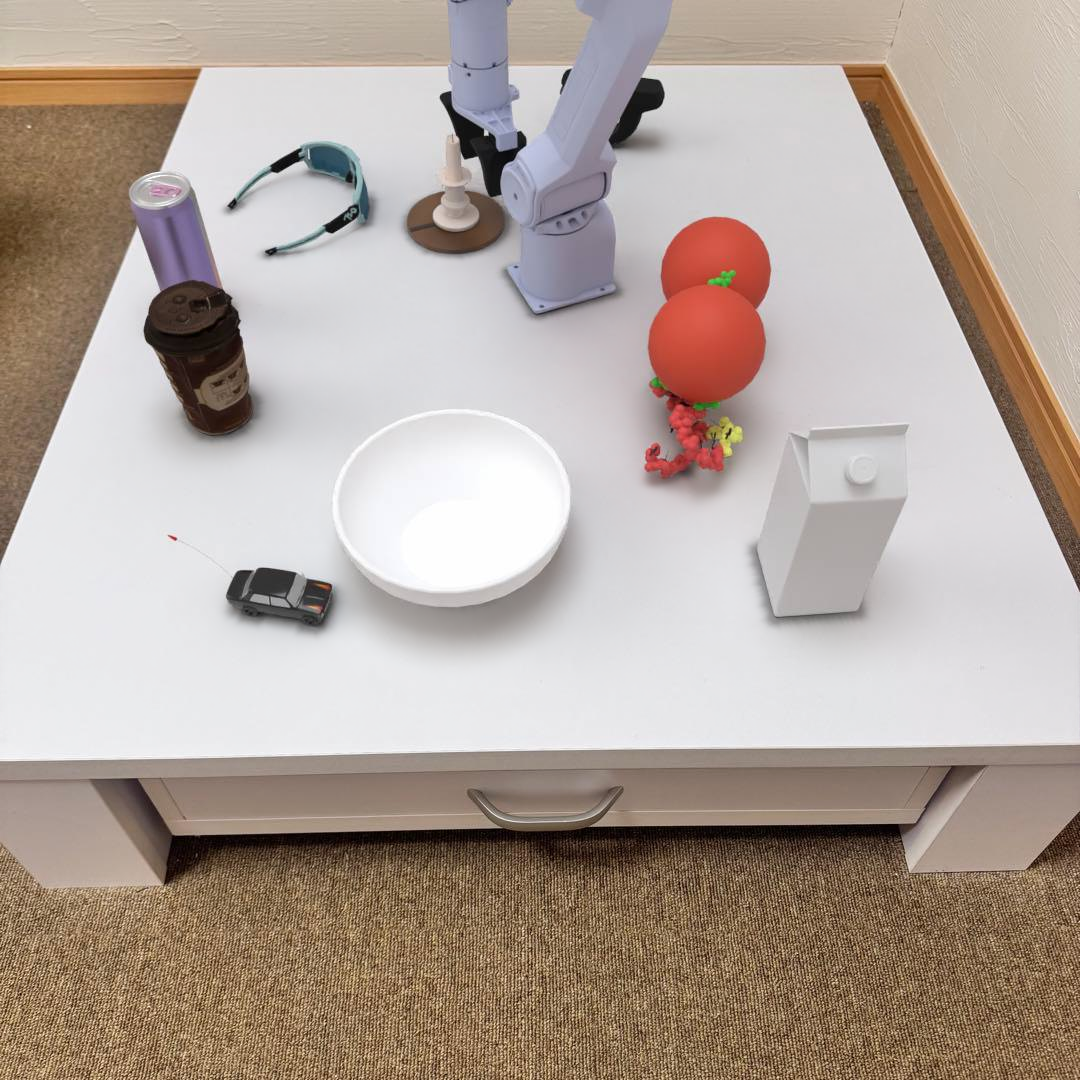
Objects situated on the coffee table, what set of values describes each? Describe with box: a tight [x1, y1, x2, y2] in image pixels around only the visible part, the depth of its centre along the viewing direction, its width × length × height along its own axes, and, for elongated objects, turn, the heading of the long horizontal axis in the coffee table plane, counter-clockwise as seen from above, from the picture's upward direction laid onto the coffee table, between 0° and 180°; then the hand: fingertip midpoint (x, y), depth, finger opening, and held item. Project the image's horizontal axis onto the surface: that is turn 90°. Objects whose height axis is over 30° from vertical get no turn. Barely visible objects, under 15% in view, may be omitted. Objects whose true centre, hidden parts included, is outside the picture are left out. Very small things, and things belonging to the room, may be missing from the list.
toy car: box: [167, 534, 334, 626], centre depth 86 cm, size 4×12×8 cm, turn 80°
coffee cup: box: [142, 280, 254, 436], centre depth 97 cm, size 9×8×13 cm
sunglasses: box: [226, 140, 370, 256], centre depth 120 cm, size 14×15×5 cm
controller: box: [559, 67, 666, 146], centre depth 126 cm, size 4×12×10 cm, turn 78°
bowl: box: [331, 408, 572, 608], centre depth 90 cm, size 20×20×7 cm
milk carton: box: [756, 421, 910, 618], centre depth 83 cm, size 7×7×19 cm
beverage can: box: [128, 170, 224, 292], centre depth 105 cm, size 6×6×15 cm
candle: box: [433, 133, 479, 232], centre depth 116 cm, size 5×5×10 cm
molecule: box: [643, 216, 772, 479], centre depth 98 cm, size 25×11×15 cm, turn 173°
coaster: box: [406, 189, 506, 255], centre depth 120 cm, size 11×11×1 cm
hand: (484, 174), depth 117 cm, fingers open, 7 cm apart
